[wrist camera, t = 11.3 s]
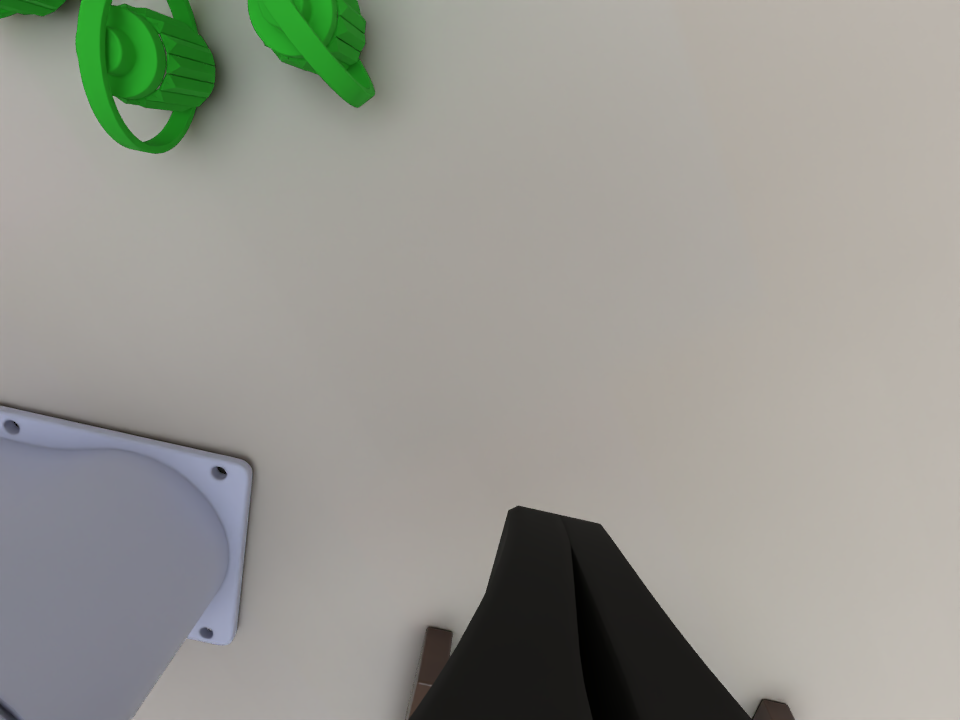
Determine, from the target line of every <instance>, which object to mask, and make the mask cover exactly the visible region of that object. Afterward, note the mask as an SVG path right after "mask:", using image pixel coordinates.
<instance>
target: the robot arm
mask: <svg viewBox="0 0 960 720" xmlns="http://www.w3.org/2000/svg"><path fill="white" fill-rule="evenodd" d="M14 422H16V423H17V424H18V425H19V428H18V427H17V426H16V425H15V424H14ZM217 466H220V467H222V468H224V469H225V471H226V473H227V474H223V473H220V472H219V470H218V469H217ZM252 477H253V472H252V468H251V467H250V465H249V464H248V463H247V462H246V461H244V460H242V459H239V458H234V457H230V456H225V455H221V454H216V453H212V452H207V451H203V450H198V449H194V448H189V447H185V446H180V445H176V444H171V443H167V442H162V441H158V440H153V439H149V438H144V437H140V436H135V435H131V434H126V433H122V432H117V431H113V430H108V429H104V428H99V427H95V426H90V425H86V424H81V423H77V422H72V421H68V420H63V419H59V418H54V417H50V416H45V415H41V414H36V413H32V412H27V411H23V410H18V409H14V408H9V407H5V406H0V720H131V719H132V718H133V717H134V715H135V714H136V712H137V711H138V709H139V708H140V706H141V705H142V703H143V702H144V700H145V699H146V697H147V696H148V694H149V693H150V691H151V690H152V688H153V687H154V685H155V684H156V682H157V681H158V679H159V678H160V677H161V675H162V674H163V672H164V671H165V669H166V668H167V666H168V665H169V663H170V662H171V660H172V659H173V657H174V656H175V654H176V653H177V651H178V650H179V648H180V647H181V645H182V644H183V642H184V641H185V639H186V638H188V639H193V640H198V641H202V642H207V643H211V644H216V645H227V644H229V643H231V642H232V640H233V638H234V637H235V635H236V632H237V624H238V614H239V604H240V595H241V585H242V575H243V565H244V555H245V546H246V536H247V526H248V516H249V506H250V497H251V487H252ZM207 628H209V629H211V630H212V631H211V630H209V629H207ZM408 720H752V719H751V718H750V716H749V715H748V714H747V713H746V712H745V711H744V710H743V708H742V707H741V706H740V705H739V704H738V702H737V701H736V700H735V699H734V698H733V697H732V695H731V694H730V693H729V692H728V691H727V689H726V688H725V687H724V686H723V685H722V683H721V682H720V681H719V680H718V679H717V678H716V676H715V675H714V674H713V673H712V672H711V670H710V669H709V668H708V667H707V666H706V664H705V663H704V662H703V661H702V659H701V658H700V657H699V656H698V654H697V653H696V652H695V651H694V649H693V648H692V647H691V646H690V644H689V643H688V642H687V641H686V639H685V638H684V637H683V635H682V634H681V633H680V632H679V630H678V629H677V628H676V626H675V625H674V624H673V622H672V621H671V620H670V618H669V617H668V616H667V614H666V613H665V612H664V611H663V609H662V608H661V607H660V605H659V604H658V602H657V601H656V600H655V598H654V597H653V596H652V594H651V593H650V592H649V590H648V589H647V587H646V586H645V585H644V583H643V582H642V581H641V579H640V578H639V576H638V575H637V574H636V572H635V571H634V569H633V568H632V567H631V565H630V564H629V562H628V561H627V560H626V558H625V557H624V555H623V554H622V553H621V551H620V550H619V548H618V547H617V546H616V544H615V543H614V541H613V540H612V539H611V537H610V536H609V535H608V533H607V532H606V531H605V529H604V528H603V527H602V525H601V524H598V523H594V522H589V521H585V520H580V519H576V518H571V517H567V516H562V515H558V514H553V513H549V512H544V511H540V510H535V509H531V508H527V507H522V506H516V507H514V508H513V509H511V510H509V511H508V514H507V518H506V521H505V525H504V528H503V532H502V536H501V539H500V543H499V546H498V550H497V554H496V557H495V561H494V564H493V568H492V572H491V575H490V579H489V582H488V586H487V590H486V593H485V595H484V597H483V599H482V601H481V603H480V605H479V607H478V609H477V610H476V612H475V614H474V616H473V618H472V620H471V621H470V623H469V625H468V627H467V629H466V630H465V632H464V634H463V636H462V638H461V640H460V641H459V643H458V645H457V647H456V648H455V650H454V652H453V653H452V655H451V656H450V658H449V660H448V661H447V663H446V665H445V666H444V668H443V669H442V671H441V672H440V674H439V675H438V677H437V679H436V680H435V682H434V683H433V685H432V686H431V688H430V689H429V690H428V692H427V693H426V695H425V696H424V698H423V699H422V701H421V702H420V704H419V705H418V707H417V708H416V710H415V711H414V712H413V714H412V715H411V716H410V718H409V719H408Z"/></svg>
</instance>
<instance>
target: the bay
mask: <svg viewBox="0 0 960 720" xmlns="http://www.w3.org/2000/svg"><path fill="white" fill-rule="evenodd" d="M452 637H453V634H452V632H449V631H445V630H440V629H436V628H431V627H428V628H427V630H426V634H425V638H424V642H423V646H422V651H421V655H420V659H419V663H418V667H417V671H416V675H415V679H414V684H413V688H412V692H411V696H410V700H409V704H408V708H407V713H406V717H405V720H408V719H409V718H410V716H411V715H412V714H413V712H414V711H415V710H416V708H417V707H418V705H419V704H420V702H421V701H422V699H423V698H424V696H425V695H426V693H427V692H428V690H429V689H430V688H431V686H432V685H433V683H434V682H435V680H436V679H437V677H438V675H439V674H440V672H441V671H442V669H443V668H444V666H445V665H446V663H447V661H448V660H449V658H450V652H451V645H452ZM753 720H795V719H794V717H793V715H792V713H791V711H790V709H789V707H788V705H786V704H782V703H777V702H772V701H768V700H762V702H761V704H760V706H759V708H758V710H757V712H756V714H755V716H754V718H753Z"/></svg>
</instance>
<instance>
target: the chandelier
mask: <svg viewBox="0 0 960 720" xmlns="http://www.w3.org/2000/svg"><path fill="white" fill-rule="evenodd" d="M65 1H66V0H0V19H1V18H4V17H8V16H11V15H13V14H16V13H19V14H23V15H28V14H36V15H39V16H45V15H47V14H50V13H52V12H54V11H55V10H57V9H58V8H59V7H60V6H61V5H62V4H63V3H64V2H65ZM167 2H168V4H169V7H170V9H171V12H172V15H173V18H174V19H173V18H171V17H168V16H165V15H163V14H160V13H158V12H155V11H152V10H150V9H147V8H135V7H132V6H130V5H127V4H122V5H119V6H114V5H111V3H112V0H81V4H80V9H79V15H78V24H77V33H76V52H77V56H78V61H79V68H80V73H81V78H82V82H83V86H84V89H85V92H86V95H87V98H88V101H89V103H90V106H91V108H92V110H93V112H94V114H95V116H96V118H97V119H98V121H99V123H100V124H101V126H102V127H103V128H104V130H105V131H106V132H107V133H108V134H109V135H110V136H111V137H112V138H113V139H114V140H115V141H116V142H118V143H119V144H121V145H122V146H124V147H126V148H129V149H133V150H138V151H143V152H148V153H153V154H158V153H164V152H166V151H169V150H170V149H172V148H173V147H175V146H176V145H177V144H178V143H179V142H180V141H181V139H182V138H183V137H184V135H185V134H186V132H187V130H188V128H189V126H190V124H191V122H192V119H193V117H194V114H195V110H196V107H199V106H200V105H201V104H202V103H203V102H204V101H205V100H206V99H207V98H208V97H209V96H210V94H211V92H212V90H213V87H214V84H213V83H215V67H214V66H215V62H214V59H213V55H212V53H211V51H210V49H208V46H207V44H206V43H205V41H204V39H203V38H202V36H201V35H198V31H197V26H196V22H195V18H194V15H193V12H192V9H191V6H190V3H189V1H188V0H167ZM248 11H249V16H250V20H251V23H252V25H253V27H254V29H255V31H256V33H257V34H258V36H259V37H260V38H261V40H262V41H263V42H264V45H265V46H267V47H269V48H271V49H272V50H273V52H274V53H275V54H276V55H277V56H278V58H279V59H280V60H281V61H282V62H284V63H287V64H289V65H292V66H295V67H297V68H300V69H303V70H305V71H310V72H313V73H315V74H318V75H319V76H320V77H321V78H322V79H323V80H324V81H325V82H326V83H327V84H328V85H329V86H330V87H331V88H332V89H333V90H334V91H335V92H336V93H337V94H338V95H339V96H340V97H341V98H342V99H343V100H345V101H346V102H347V103H349V104H350V105H352V106H354V107H356V108H359V107H360V106H362V105H363V104H364V103H365V102H367V101H368V100H369V99H371V98H372V97H373V96H374V95H375V90H374V87H373V84H372V82H371V80H370V77H369V75H368V73H367V72H366V70H365V68H364V66H363V64H362V62H361V61H360V59H359V55H360V52H359V51H362V49H363V47H364V45H365V35H364V33H365V26H366V21H365V20H364V18H363V17H362V16H361V13H360V9H359V5H358V1H357V0H248ZM337 12H338V19H337ZM158 34H160V37H161V39H162V41H161V39H160V37H159V35H158ZM163 45H164V46H163ZM164 47H165V50H166V52H167V53H168V54H167V61H166V55H165V50H164ZM354 48H355V49H354ZM356 49H357V50H358V51H357V50H356ZM178 56H179V57H178ZM203 63H204V64H203ZM207 64H208V65H207ZM165 69H166V75H165V77H164V74H165ZM168 73H170V74H168ZM173 74H174V75H173ZM178 75H179V76H178ZM163 77H164V79H163ZM201 80H202V81H201ZM205 81H206V82H205ZM161 82H162V83H161ZM209 82H211V83H209ZM160 84H161V85H160ZM159 85H160V87H159ZM158 87H159V89H157V88H158ZM156 89H157V90H156ZM113 96H116V97H117V98H118V99H120V100H121V101H123V102H124V103H125V104H134V105H140V106H142V107H145V108H153V109H161V110H170V111H173V112H172V115H171V117H170V119H169V121H168V122H167V124H166V126H165V127H164V128H163V130H162V131H161V132H160V133H159V134H158V135H157V136H155V137H154V138H152V139H151V140H148V141H146V142H142V141H140V140H139V139H138V138H137V137H135V136H134V135H133V134H132V132H131V131H130V130H129V129H128V127H127V126H126V125H125V123H124V121H123V120H122V118H121V116H120V114H119V112H118V110H117V107H116V105H115V102H114V99H113Z"/></svg>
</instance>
